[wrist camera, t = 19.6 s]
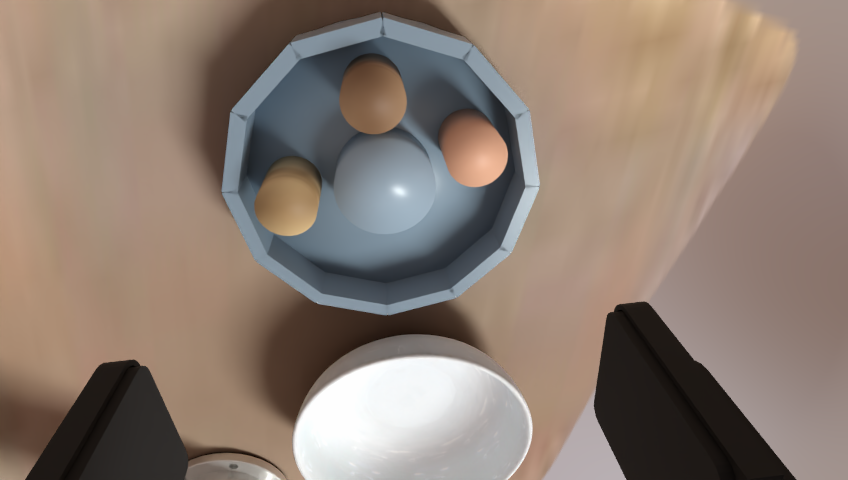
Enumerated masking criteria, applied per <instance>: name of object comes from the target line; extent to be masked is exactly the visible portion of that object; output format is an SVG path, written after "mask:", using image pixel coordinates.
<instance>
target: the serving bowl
mask: <svg viewBox="0 0 848 480" xmlns="http://www.w3.org/2000/svg"><path fill="white" fill-rule="evenodd" d="M531 438H532V419H531V414H530V411H529V408H528V405H527V403H526V401H525V399H524V397H523V396H522V394H521V392H520V390H519V389H518V387H517V385H516V384H515V382H514V381H513V379H512V378H511V377H510V376H509V374H508V373H507V372H506V371H505V370H504V369H503V368H502V367H501V366H500V365H499V364H498V363H497V362H496V361H495V360H493V359H492V358H491V357H489V356H488V355H487V354H485V353H483V352H482V351H480V350H478V349H477V348H475V347H473V346H470V345H468V344H466V343H463V342H461V341H458V340H455V339H451V338H447V337H442V336H435V335H424V334H409V335H399V336H393V337H387V338H383V339H380V340H376V341H373V342H370V343H368V344H365V345H363V346H360V347H358V348H356V349H354V350H353V351H351V352H349V353H347V354H346V355H344V356H343V357H341V358H340V359H338V360H337V361H336V362H334V363H333V364H332V365H331V366H330V367H329V368H328V369H327V370H326V371H324V372H323V374H322V375H321V376H320V377H319V378H318V379H317V381H316V382H315V383H314V385H313V386H312V387H311V389H310V391H309V392H308V394H307V396H306V397H305V400H304V402H303V404H302V406H301V408H300V411H299V413H298V416H297V419H296V422H295V425H294V429H293V436H292V447H293V454H294V458H295V461H296V464H297V466H298V469H299V470H300V472H301V474H302V476H303V477H304V478H305V480H507V479H509V478H510V477H511V476H512V475H513V474H514V472H515V471H516V470H517V469H518V467H519V466H520V465H521V463H522V461H523V460H524V458H525V456H526V454H527V452H528V449H529V447H530V443H531Z"/></svg>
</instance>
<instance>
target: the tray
mask: <svg viewBox="0 0 848 480" xmlns="http://www.w3.org/2000/svg"><path fill="white" fill-rule="evenodd" d="M368 53H375V54H380V55H383V56H385V57H387V58H388V59H390V60H391V61H392V62H393V63H394V64H395V65H396V66H397V68H398V70H399V72H400V74H401V78H402V81H403V85H404V89H405V92H406V98H407V105H406V110H405V113H404V116H403V118H402V119H401V121H400V122H399V123H398V124H397V125H396V126H395V127H394V128H393V129H391V130H389V131H387V132H385V133H381V134H367V133H363V132H360V131H358V130H356V129H355V128H353V127H352V126H351V125H350V124H349V123H348V122H347V121H346V119H345V118H344V116H343V114H342V112H341V109H340V103H339V96H340V90H341V85H342V80H343V75H344V72H345V69H346V68H347V66H348V65H349V63H350V62H351V61H352V60H354V59H355V58H356V57H358V56H360V55H363V54H368ZM460 109H475V110H478V111H480V112H481V113H483V114H484V115H485V116H486V117H487V118H488V119H489V120H490V122H491V123H492V125H493V126H494V128H495V129H496V130H497V132H498V133H499V135H500V136H501V137H502V139H503V140H504V142H505V144H506V146H507V150H508V159H507V164H506V166H505V169H504V170H503V172H502V173H501V175H500V176H499V177H498V178H497V179H496V180H494V181H493V182H491V183H489V184H487V185H484V186H481V187H468V186H465V185H462V184H460V183H459V182H457V181H456V180H455V179H454V178H453V177H452V176H451V174H450V173H449V171H448V168H447V165H446V162H445V160H444V157H443V154H442V151H441V149H440V146H439V142H438V133H439V129H440V126H441V124H442V123H443V121H444V120H445V119H446V118H447V117H448V116H449V115H450V114H451V113H453V112H455V111H457V110H460ZM286 156H298V157H302V158H304V159H306V160H308V161H310V162H311V163H312V164H314V165H315V166H316V168H317V169H318V170H319V172H320V174H321V177H322V190H321V195H320V200H319V206H318V211H317V216H316V219H315V222H314V223H313V225H312V226H311V227H310V228H309V229H308V230H307V231H305V232H303V233H301V234H298V235H294V236H283V235H278V234H275V233H273V232H271V231H269V230H268V229H266V228H265V227H264V226H263V225H262V224H261V223H260V222H259V220H258V218H257V216H256V214H255V209H254V203H255V199H256V196H257V194H258V192H259V189H260V187H261V185H262V183H263V180H264V178H265V176H266V174H267V171H268V169H269V168H270V166H271V165H272V164H273V163H274V162H275V161H276V160H278V159H280V158H282V157H286ZM539 186H540V183H539V176H538V168H537V161H536V154H535V146H534V139H533V132H532V124H531V117H530V111H529V109H528V108H527V106H526V105H525V104H524V103H523V102H522V101H521V99H520V98H519V97H518V96H517V95H516V94H515V92H514V91H513V90H512V89H511V88H510V87H509V85H508V84H507V83H506V82H505V81H504V80H503V78H502V77H501V76H500V75H499V74H498V73H497V71H496V70H495V69H494V68H493V67H492V66H491V64H490V63H489V62H488V61H487V60H486V59H485V57H484V56H483V55H482V54H481V53H480V52H479V50H478V49H477V48H476V47H475V46H474V45H473V44H472V43H471V42H470V41H469V40H468V39H467V38H465V37H463V36H460V35H457V34H454V33H450V32H447V31H444V30H441V29H438V28H435V27H433V26H430V25H428V24H425V23H422V22H418V21H414V20H409V19H405V18H401V17H398V16H394V15H391V14H388V13H385V12H382V16H381V12H378V13H374V14H371V15H367V16H364V17H359V18H354V19H349V20H344V21H339V22H336V23H334V24H331V25H328V26H325V27H323V28H320V29H317V30H313V31H310V32H306V33H303V34H299V35H296V37H294V38H293V39H292V40H291V41H290V43H289V44H288V45H287V46H286V47H285V48H284V50H283V51H282V52H281V53H280V54H279V55H278V56H277V58H276V59H275V60H274V61H273V62H272V63H271V64H270V66H269V67H268V68H267V69H266V70H265V71H264V73H263V74H262V75H261V76H260V77H259V78H258V80H257V81H256V82H255V83H254V84H253V85H252V86H251V88H250V89H249V90H248V91H247V92H246V93H245V95H244V96H243V97H242V98H241V99H240V100H239V102H238V103H237V104H236V105H235V106H234V108H233V109H232V110H231V112H230V120H229V129H228V138H227V147H226V156H225V165H224V174H223V183H222V195H223V197H224V199H225V201H226V203H227V205H228V207H229V209H230V211H231V213H232V215H233V217H234V219H235V221H236V223H237V225H238V227H239V229H240V231H241V233H242V235H243V237H244V239H245V241H246V243H247V245H248V247H249V249H250V251H251V253H252V255H253V257H254V259H255V260H257V261H256V262H257V263H259V264H260V265H262V266H263V267H264V268H266V269H267V270H269V271H270V272H272V273H273V274H275V275H276V276H277V277H279V278H280V279H282V280H283V281H285V282H286V283H287V284H289V285H290V286H292V287H293V288H295V289H296V290H297V291H299V292H300V293H302V294H303V295H305V296H306V297H307V298H309V299H310V300H312V301H313V302H315V303H316V302H317V304H322V305H328V306H334V307H339V308H345V309H351V310H357V311H363V312H369V313H375V314H381V315H387V313H388V315H392V314H396V313H400V312H404V311H408V310H411V309H415V308H419V307H423V306H427V305H431V304H435V303H439V302H443V301H447V300H451V299H454V298H456V297H458V296H460V295H461V294H462V293H463V292H464V291H466V290H467V289H468V288H469V287H471V286H472V285H473V284H474V283H475V282H477V281H478V280H479V279H480V278H482V277H483V276H484V275H485V274H486V273H488V272H489V271H490V270H491V269H493V268H494V267H495V266H496V265H498V264H499V263H500V262H501V261H502V260H504V259H505V258H506V257H507V256H509V255H510V254H511V253H510V252H512V251H513V248H514V246H515V244H516V241H517V239H518V237H519V234H520V232H521V230H522V227H523V225H524V223H525V220H526V218H527V216H528V213H529V211H530V209H531V206H532V204H533V202H534V199H535V197H536V195H537V192H538V190H539V188H540V187H539ZM455 296H456V297H455Z"/></svg>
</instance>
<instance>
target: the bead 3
mask: <svg viewBox="0 0 848 480" xmlns="http://www.w3.org/2000/svg"><path fill="white" fill-rule="evenodd" d="M438 142H439V146H440V149H441V151H442V154H443V157H444V160H445V162H446V165H447V168H448V171H449V173H450V174H451V176H452V177H453V178H454V179H455V180H456V181H457V182H459V183H460V184H462V185H465V186H468V187H481V186H484V185H487V184H489V183H491V182H493V181H494V180H496V179H497V178H498V177H499V176H500V175H501V173H502V172H503V170H504V169H505V166H506V164H507V159H508V150H507V146H506V144H505V142H504V140H503V139H502V137H501V136H500V135H499V133H498V132H497V130H496V129H495V128H494V126H493V125H492V123H491V122H490V120H489V119H488V118H487V117H486V116H485V115H484V114H483V113H481V112H480V111H478V110H475V109H460V110H457V111H455V112H453V113H451V114H450V115H449V116H448V117H447V118H446V119H445V120H444V121H443V123H442V124H441V126H440V129H439V133H438Z"/></svg>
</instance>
